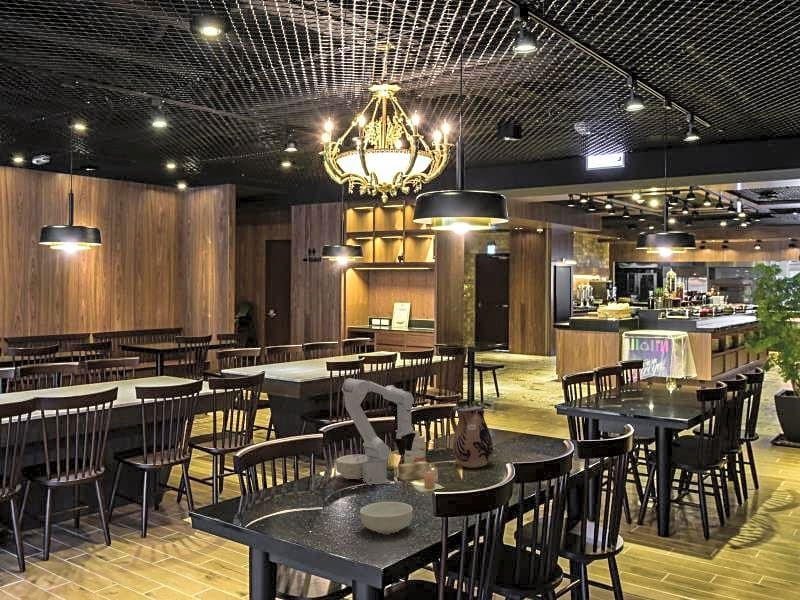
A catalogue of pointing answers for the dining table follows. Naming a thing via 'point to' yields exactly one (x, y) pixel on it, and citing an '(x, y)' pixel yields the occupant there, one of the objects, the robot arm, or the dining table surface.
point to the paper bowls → (351, 466)
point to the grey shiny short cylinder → (434, 473)
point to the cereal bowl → (386, 516)
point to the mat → (423, 489)
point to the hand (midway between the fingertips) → (405, 452)
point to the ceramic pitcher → (471, 437)
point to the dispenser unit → (412, 470)
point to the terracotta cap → (429, 479)
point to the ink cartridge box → (416, 449)
